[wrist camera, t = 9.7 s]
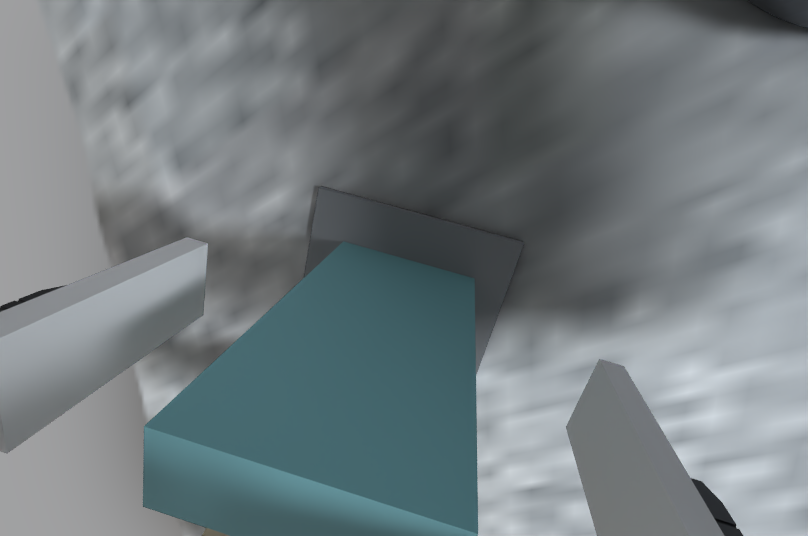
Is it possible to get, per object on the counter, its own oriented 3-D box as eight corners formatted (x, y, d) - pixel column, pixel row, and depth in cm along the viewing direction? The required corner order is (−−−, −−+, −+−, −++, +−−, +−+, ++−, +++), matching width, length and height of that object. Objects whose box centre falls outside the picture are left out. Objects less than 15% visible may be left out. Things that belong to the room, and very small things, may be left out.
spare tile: (343, 241, 18) (144, 426, 7) (474, 278, 18) (478, 533, 7) (335, 281, 19) (142, 506, 8) (461, 317, 19) (445, 608, 8)
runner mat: (321, 186, 18) (318, 187, 18) (523, 241, 18) (523, 244, 17) (250, 614, 29) (247, 621, 29) (371, 657, 29) (370, 663, 28)
